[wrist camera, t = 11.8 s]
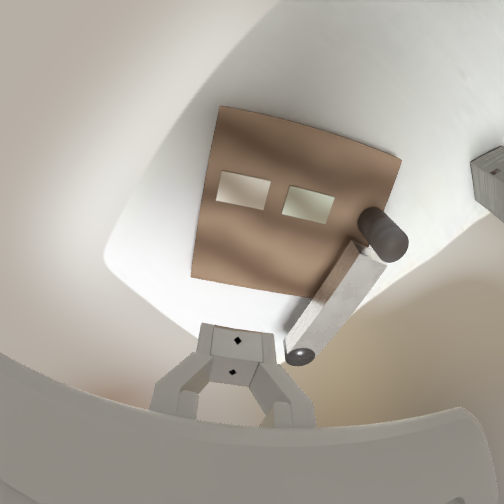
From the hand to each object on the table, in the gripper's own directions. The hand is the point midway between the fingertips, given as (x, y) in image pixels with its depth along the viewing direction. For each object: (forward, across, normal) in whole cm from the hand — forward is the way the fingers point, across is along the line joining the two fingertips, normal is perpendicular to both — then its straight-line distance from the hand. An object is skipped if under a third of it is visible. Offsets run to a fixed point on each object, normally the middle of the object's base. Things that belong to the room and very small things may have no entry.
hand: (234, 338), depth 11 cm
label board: (+21, -6, +2) cm, 22 cm away
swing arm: (+18, -13, +12) cm, 25 cm away
